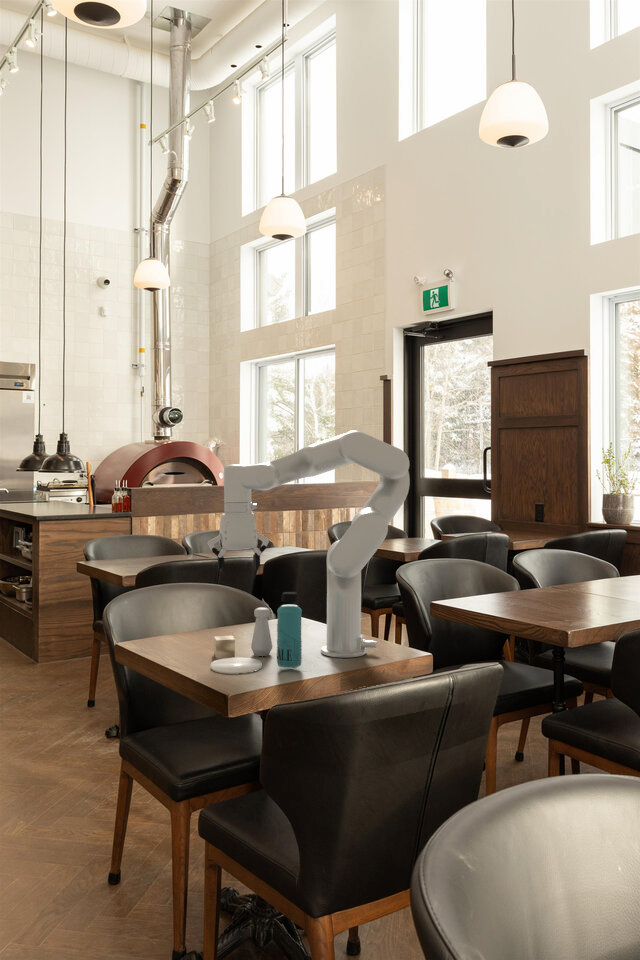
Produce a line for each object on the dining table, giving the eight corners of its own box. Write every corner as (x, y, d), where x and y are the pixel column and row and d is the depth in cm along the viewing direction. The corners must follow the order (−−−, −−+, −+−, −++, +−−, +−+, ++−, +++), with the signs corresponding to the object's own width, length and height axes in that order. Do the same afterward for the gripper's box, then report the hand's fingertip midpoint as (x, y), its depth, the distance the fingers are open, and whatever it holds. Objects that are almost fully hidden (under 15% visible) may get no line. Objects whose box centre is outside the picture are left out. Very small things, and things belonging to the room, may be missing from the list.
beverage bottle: (301, 667, 209) (302, 590, 209) (302, 673, 203) (302, 594, 202) (276, 667, 209) (277, 590, 209) (276, 673, 202) (276, 594, 202)
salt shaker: (269, 658, 218) (269, 610, 218) (248, 657, 220) (249, 609, 219) (274, 653, 224) (274, 606, 224) (254, 652, 225) (255, 605, 225)
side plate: (265, 662, 214) (265, 658, 214) (255, 674, 201) (256, 670, 201) (217, 660, 216) (217, 656, 216) (205, 672, 203) (205, 668, 203)
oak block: (232, 653, 224) (232, 635, 224) (234, 657, 219) (234, 639, 219) (214, 654, 223) (214, 636, 223) (216, 658, 218) (216, 640, 218)
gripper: (264, 507, 230) (265, 567, 230) (204, 509, 224) (205, 570, 225) (271, 508, 223) (272, 570, 223) (209, 510, 217) (211, 573, 218)
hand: (239, 570), depth 224 cm, fingers open, 9 cm apart
